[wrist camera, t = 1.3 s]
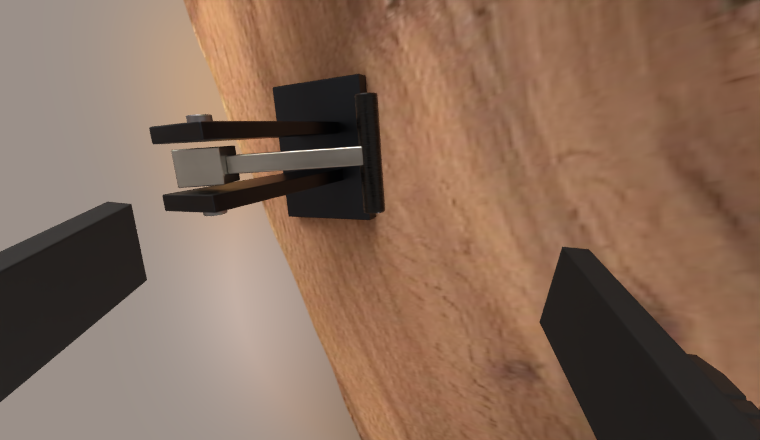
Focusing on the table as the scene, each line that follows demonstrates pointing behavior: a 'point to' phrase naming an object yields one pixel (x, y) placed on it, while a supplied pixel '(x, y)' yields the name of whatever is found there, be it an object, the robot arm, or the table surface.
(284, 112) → the black lever stand
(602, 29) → the table surface
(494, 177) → the table surface
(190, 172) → the latch lever
